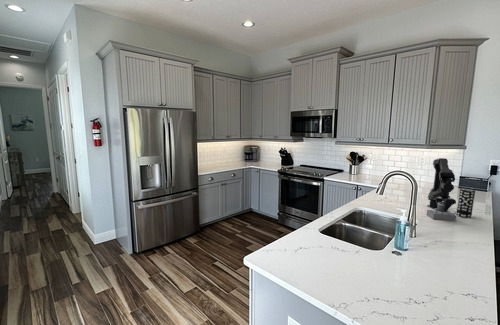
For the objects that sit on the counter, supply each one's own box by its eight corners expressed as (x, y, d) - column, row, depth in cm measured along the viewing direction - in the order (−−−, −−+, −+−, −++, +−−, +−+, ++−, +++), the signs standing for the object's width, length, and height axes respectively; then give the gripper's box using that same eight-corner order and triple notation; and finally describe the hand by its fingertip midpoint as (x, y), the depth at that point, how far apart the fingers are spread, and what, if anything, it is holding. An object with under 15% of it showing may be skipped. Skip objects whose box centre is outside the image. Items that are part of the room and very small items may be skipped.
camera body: (426, 214, 178) (427, 207, 177) (447, 216, 175) (448, 209, 175) (433, 219, 169) (434, 211, 168) (455, 221, 166) (456, 213, 166)
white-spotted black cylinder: (474, 218, 172) (478, 191, 169) (462, 218, 172) (466, 191, 169) (464, 214, 180) (468, 188, 177) (453, 214, 180) (456, 188, 178)
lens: (443, 211, 174) (444, 202, 173) (447, 214, 169) (448, 204, 168) (435, 211, 175) (436, 201, 174) (439, 213, 170) (440, 204, 169)
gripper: (425, 184, 180) (422, 204, 182) (439, 190, 162) (436, 213, 164) (441, 185, 178) (439, 205, 180) (458, 192, 159) (454, 214, 162)
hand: (441, 209), depth 171 cm, fingers open, 8 cm apart
